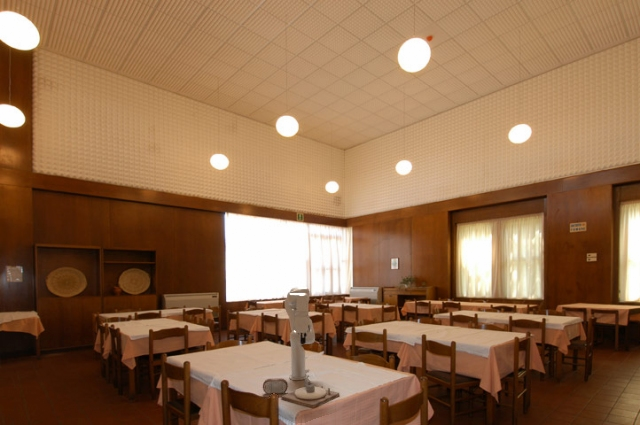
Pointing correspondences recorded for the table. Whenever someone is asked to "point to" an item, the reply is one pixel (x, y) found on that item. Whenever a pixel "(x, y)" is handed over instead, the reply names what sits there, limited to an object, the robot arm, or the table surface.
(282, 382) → the tin
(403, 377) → the table surface
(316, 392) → the dial
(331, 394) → the dial board
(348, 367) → the table surface
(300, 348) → the robot arm
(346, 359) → the table surface
